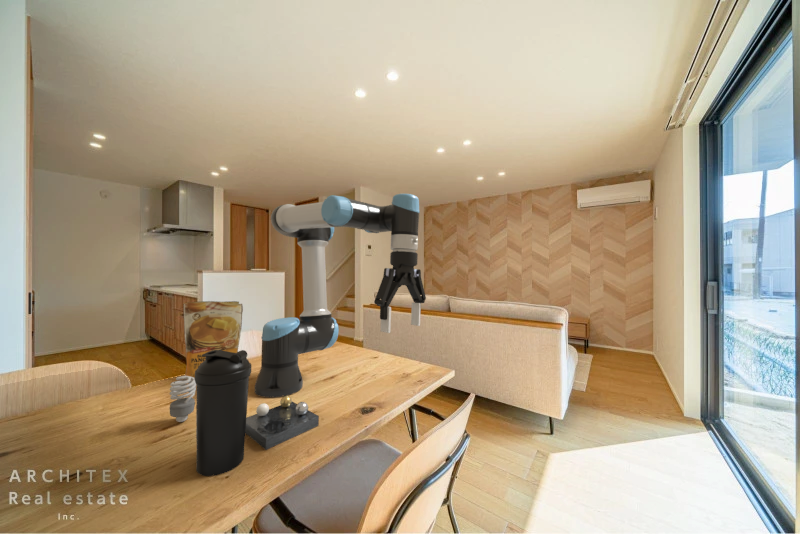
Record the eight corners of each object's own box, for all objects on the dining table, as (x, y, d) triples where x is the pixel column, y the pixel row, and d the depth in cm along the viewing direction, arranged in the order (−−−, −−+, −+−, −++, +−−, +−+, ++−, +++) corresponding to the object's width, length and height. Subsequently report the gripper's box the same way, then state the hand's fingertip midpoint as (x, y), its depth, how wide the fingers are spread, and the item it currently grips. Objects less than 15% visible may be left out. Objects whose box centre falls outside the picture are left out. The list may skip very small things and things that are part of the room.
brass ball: (277, 407, 81) (278, 396, 81) (287, 403, 83) (288, 392, 83) (283, 410, 79) (283, 399, 79) (293, 406, 81) (294, 395, 81)
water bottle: (209, 448, 66) (212, 345, 66) (256, 446, 67) (259, 346, 67) (178, 480, 56) (183, 359, 56) (234, 478, 56) (238, 359, 57)
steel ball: (292, 414, 77) (293, 402, 77) (303, 410, 79) (303, 398, 79) (299, 418, 75) (300, 406, 75) (310, 414, 77) (310, 402, 77)
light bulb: (200, 419, 78) (201, 374, 78) (178, 429, 73) (180, 381, 73) (185, 415, 80) (186, 371, 80) (162, 425, 75) (164, 378, 75)
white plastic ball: (254, 415, 76) (254, 404, 76) (265, 411, 78) (265, 400, 78) (259, 419, 74) (260, 407, 74) (271, 415, 76) (271, 403, 76)
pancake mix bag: (182, 376, 108) (185, 301, 109) (240, 370, 116) (243, 300, 117) (177, 383, 102) (180, 303, 102) (239, 375, 110) (242, 301, 111)
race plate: (240, 429, 74) (241, 419, 74) (291, 409, 84) (291, 401, 85) (265, 450, 65) (266, 438, 65) (318, 425, 76) (318, 415, 76)
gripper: (385, 247, 68) (381, 338, 68) (438, 254, 88) (436, 324, 88) (362, 248, 73) (359, 332, 73) (418, 254, 92) (415, 321, 92)
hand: (401, 328), depth 80 cm, fingers open, 13 cm apart
